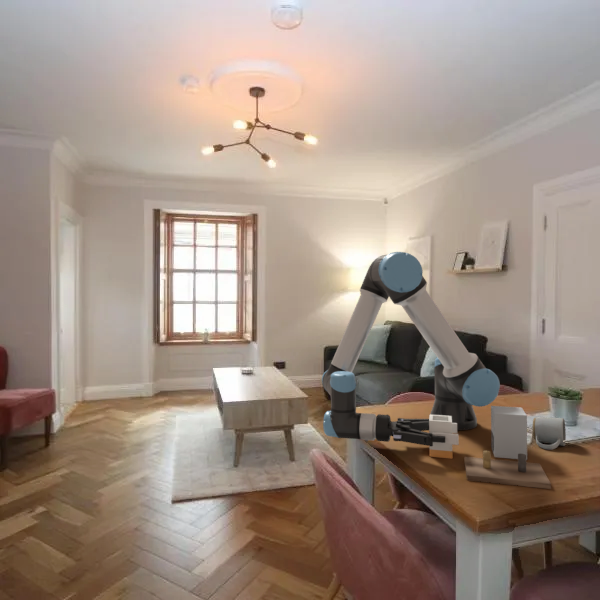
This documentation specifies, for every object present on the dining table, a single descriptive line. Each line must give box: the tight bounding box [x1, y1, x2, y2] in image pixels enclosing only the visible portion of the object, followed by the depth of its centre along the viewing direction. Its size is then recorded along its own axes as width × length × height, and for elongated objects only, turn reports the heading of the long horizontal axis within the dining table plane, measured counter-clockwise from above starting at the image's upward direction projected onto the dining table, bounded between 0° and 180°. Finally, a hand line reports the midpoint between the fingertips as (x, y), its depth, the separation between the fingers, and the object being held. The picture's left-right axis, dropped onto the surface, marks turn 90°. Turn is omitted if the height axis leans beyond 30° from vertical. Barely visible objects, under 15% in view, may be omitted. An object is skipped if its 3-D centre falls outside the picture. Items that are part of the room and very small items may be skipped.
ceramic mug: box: [531, 416, 567, 450], centre depth 128 cm, size 11×8×8 cm
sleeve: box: [428, 414, 453, 459], centre depth 123 cm, size 6×6×10 cm
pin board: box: [463, 450, 552, 490], centre depth 109 cm, size 12×18×5 cm, turn 72°
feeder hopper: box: [490, 405, 528, 461], centre depth 122 cm, size 8×8×12 cm
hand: (457, 433), depth 121 cm, fingers open, 9 cm apart
